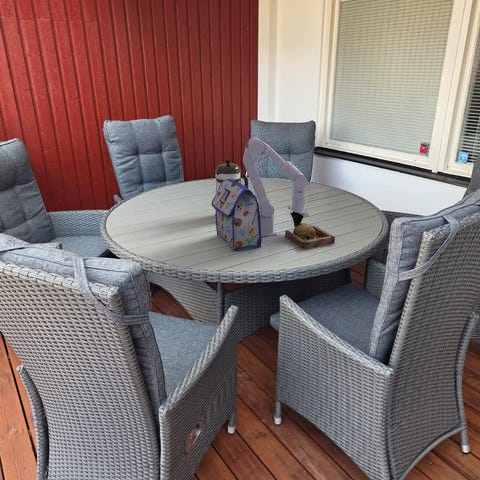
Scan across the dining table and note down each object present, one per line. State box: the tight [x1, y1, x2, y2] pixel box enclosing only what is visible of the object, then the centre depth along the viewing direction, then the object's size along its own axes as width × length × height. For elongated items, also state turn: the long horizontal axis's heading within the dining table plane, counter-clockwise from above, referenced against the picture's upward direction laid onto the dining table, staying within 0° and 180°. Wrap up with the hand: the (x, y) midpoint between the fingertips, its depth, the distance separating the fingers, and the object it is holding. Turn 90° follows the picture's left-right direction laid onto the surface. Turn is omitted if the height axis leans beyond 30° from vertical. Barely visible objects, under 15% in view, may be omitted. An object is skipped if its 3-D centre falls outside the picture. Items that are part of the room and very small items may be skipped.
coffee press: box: [214, 159, 249, 217], centre depth 204 cm, size 17×16×30 cm
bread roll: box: [292, 222, 317, 241], centre depth 181 cm, size 10×10×8 cm
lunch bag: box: [210, 179, 263, 252], centre depth 172 cm, size 23×17×27 cm
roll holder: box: [284, 225, 336, 250], centre depth 178 cm, size 16×16×3 cm
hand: (297, 227), depth 186 cm, fingers closed
